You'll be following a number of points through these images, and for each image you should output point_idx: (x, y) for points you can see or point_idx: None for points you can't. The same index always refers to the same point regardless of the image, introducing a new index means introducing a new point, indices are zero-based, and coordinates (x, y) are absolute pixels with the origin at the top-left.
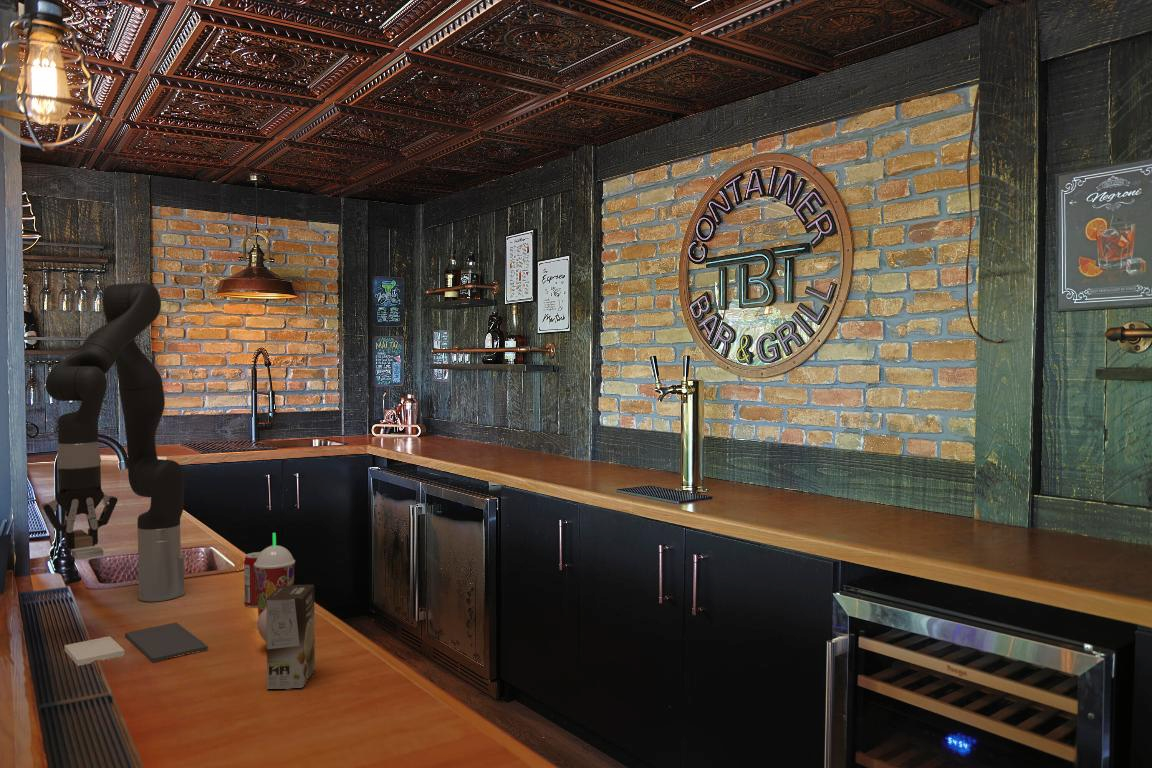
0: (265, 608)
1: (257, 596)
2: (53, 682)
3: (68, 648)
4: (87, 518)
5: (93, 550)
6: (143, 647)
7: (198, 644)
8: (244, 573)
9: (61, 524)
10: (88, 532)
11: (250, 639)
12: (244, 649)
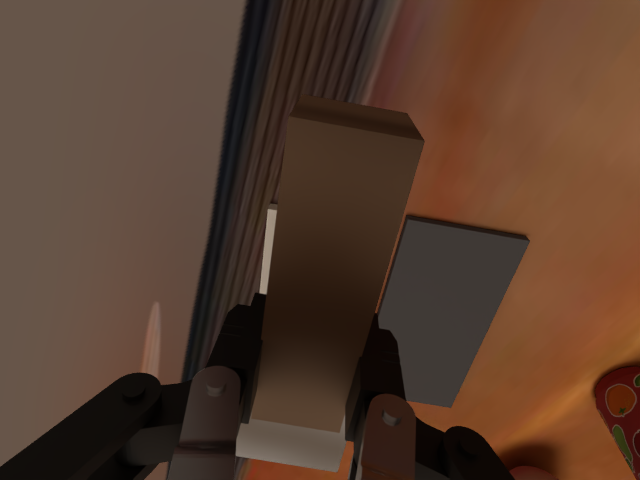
0: (613, 437)
1: (635, 441)
2: (205, 348)
3: (267, 237)
4: (356, 475)
5: (303, 456)
6: None
7: (447, 391)
8: None
9: (154, 443)
10: (357, 378)
11: (531, 409)
12: (485, 435)
